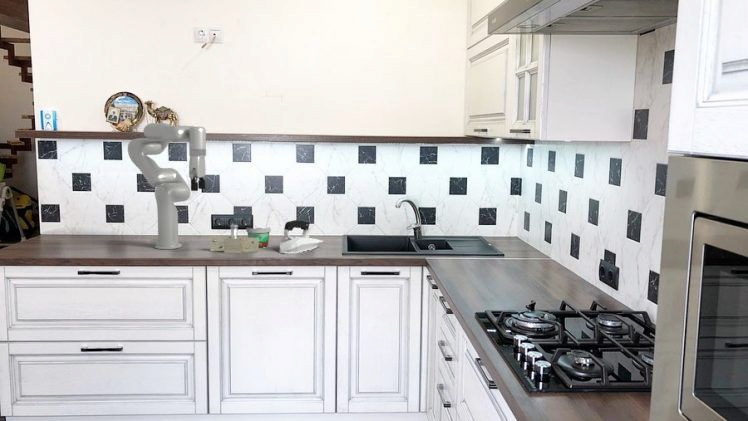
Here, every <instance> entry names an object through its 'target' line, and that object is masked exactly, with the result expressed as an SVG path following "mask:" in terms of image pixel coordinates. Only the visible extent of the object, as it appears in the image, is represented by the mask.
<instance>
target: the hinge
mask: <svg viewBox="0 0 748 421" xmlns="http://www.w3.org/2000/svg"><path fill="white" fill-rule="evenodd" d="M259 249H260V248H259V238H250V237H248V236H246V237H245V236H244V235H237V238H231V235H227V236H220V235H219V236H215V235H214V236H213V235H210V236H209V251H210V252H224V253H225V254H241V253H257V252H258V253H259Z"/></svg>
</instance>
